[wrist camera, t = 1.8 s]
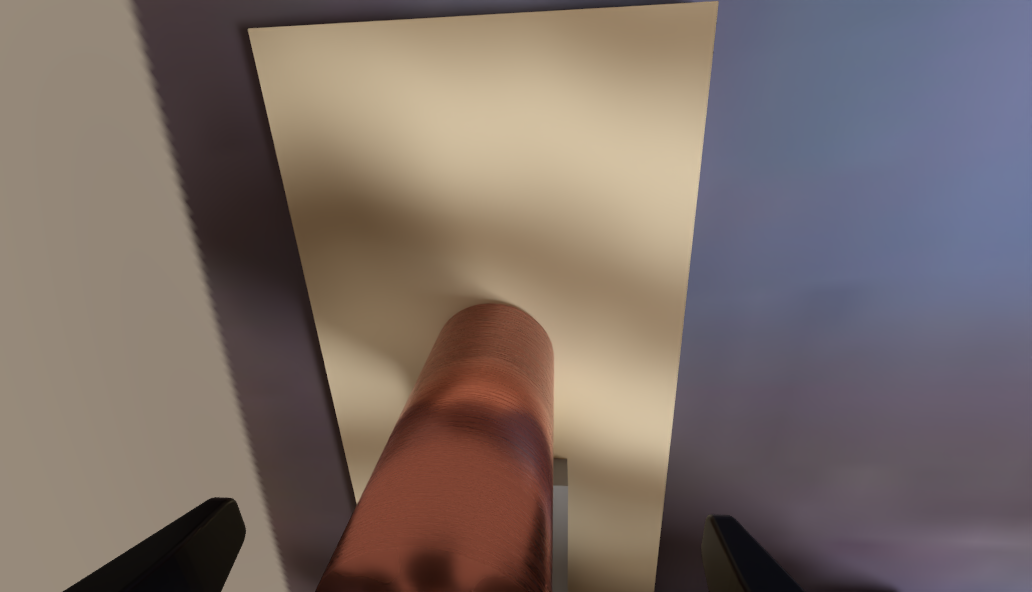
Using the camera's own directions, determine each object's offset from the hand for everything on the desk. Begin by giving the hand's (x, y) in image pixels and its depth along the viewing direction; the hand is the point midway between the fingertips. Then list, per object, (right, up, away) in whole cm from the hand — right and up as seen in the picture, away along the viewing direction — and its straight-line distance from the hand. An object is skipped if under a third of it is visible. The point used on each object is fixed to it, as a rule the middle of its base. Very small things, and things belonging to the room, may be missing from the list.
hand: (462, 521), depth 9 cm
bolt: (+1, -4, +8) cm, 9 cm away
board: (+1, -1, +8) cm, 8 cm away
